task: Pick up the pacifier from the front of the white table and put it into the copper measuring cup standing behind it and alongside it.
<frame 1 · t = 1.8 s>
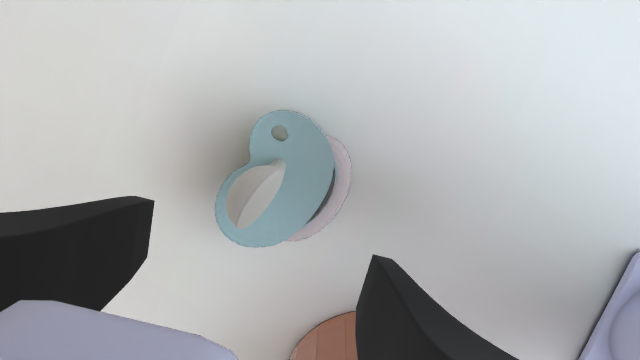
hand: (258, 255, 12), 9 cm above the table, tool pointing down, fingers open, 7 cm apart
pacifier: (292, 179, 21), on the table
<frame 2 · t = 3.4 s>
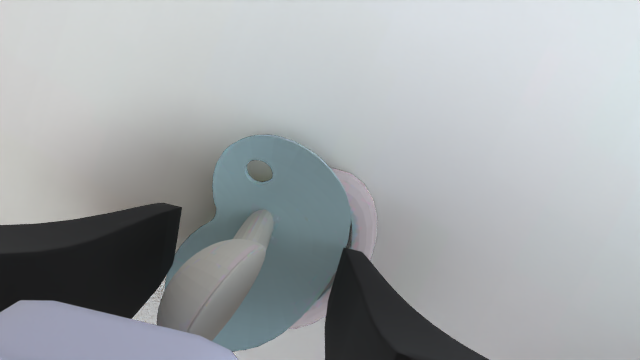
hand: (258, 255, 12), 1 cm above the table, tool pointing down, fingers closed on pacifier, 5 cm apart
pacifier: (286, 234, 14), on the table, touching gripper
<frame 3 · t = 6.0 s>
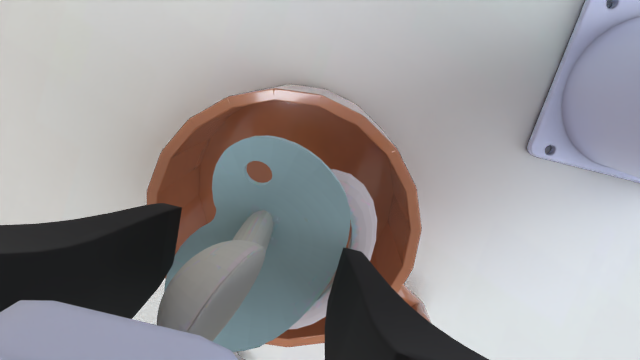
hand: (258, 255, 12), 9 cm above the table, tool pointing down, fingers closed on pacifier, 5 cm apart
pacifier: (285, 235, 14), point 7 cm above the table, touching gripper
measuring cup: (295, 190, 21), on the table
when the fingers open (2 cm above the table, at t = 8.6 s): pacifier stays where it is, resting on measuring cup.
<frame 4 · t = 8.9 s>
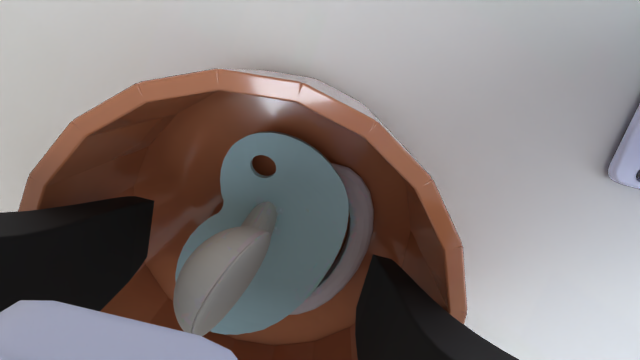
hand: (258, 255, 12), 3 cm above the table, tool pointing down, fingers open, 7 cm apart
pacifier: (288, 226, 15), resting on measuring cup
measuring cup: (271, 223, 15), on the table
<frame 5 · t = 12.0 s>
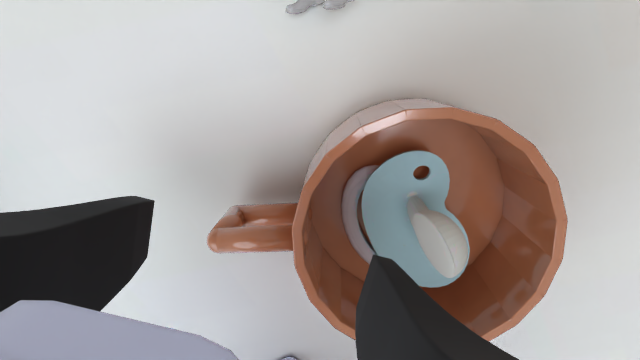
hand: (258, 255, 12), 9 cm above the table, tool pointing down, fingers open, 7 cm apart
pacifier: (396, 211, 21), resting on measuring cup
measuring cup: (404, 201, 21), on the table
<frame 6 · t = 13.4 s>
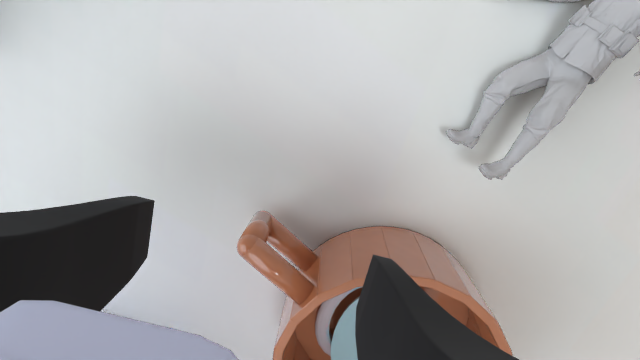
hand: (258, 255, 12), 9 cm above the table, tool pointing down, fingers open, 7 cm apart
soldier figure: (543, 61, 19), on the table
pacifier: (367, 313, 23), resting on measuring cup
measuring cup: (378, 311, 23), on the table
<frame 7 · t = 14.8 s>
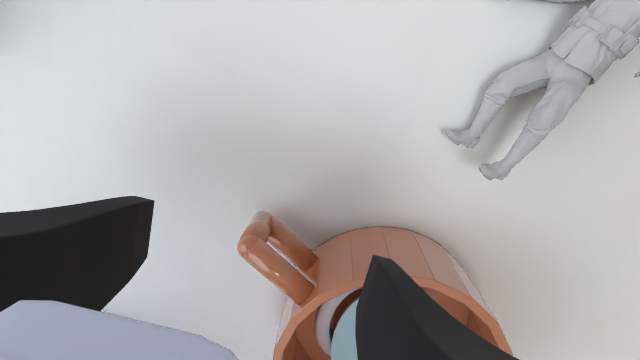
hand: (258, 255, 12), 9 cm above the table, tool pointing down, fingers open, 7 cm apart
soldier figure: (544, 62, 19), on the table
pacifier: (367, 313, 23), resting on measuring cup
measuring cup: (378, 312, 23), on the table
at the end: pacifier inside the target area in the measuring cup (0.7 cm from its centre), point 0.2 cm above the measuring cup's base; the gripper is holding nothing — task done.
